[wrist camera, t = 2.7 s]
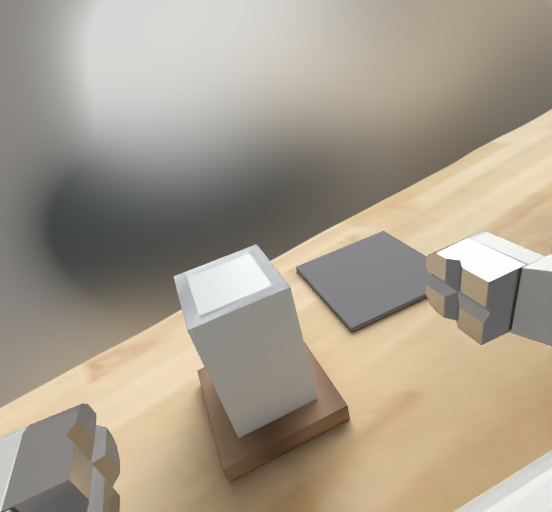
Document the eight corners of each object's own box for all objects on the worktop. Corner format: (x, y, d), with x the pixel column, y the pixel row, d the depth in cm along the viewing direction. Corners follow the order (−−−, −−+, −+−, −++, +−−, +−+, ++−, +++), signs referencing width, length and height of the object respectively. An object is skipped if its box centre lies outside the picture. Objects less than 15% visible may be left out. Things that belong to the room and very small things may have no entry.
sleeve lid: (285, 344, 30) (256, 244, 25) (317, 398, 25) (290, 286, 20) (218, 375, 29) (173, 276, 24) (238, 438, 24) (187, 330, 19)
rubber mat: (383, 234, 44) (383, 230, 44) (460, 281, 34) (460, 277, 34) (296, 270, 42) (296, 266, 42) (351, 332, 32) (351, 328, 32)
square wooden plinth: (297, 339, 33) (285, 292, 30) (349, 418, 25) (340, 365, 22) (203, 382, 31) (180, 336, 28) (229, 481, 23) (202, 433, 20)
